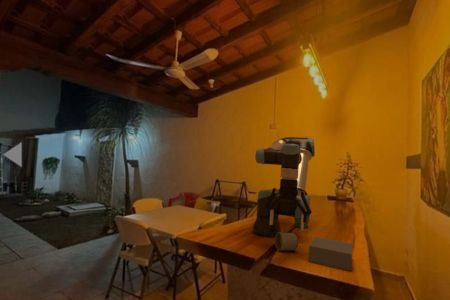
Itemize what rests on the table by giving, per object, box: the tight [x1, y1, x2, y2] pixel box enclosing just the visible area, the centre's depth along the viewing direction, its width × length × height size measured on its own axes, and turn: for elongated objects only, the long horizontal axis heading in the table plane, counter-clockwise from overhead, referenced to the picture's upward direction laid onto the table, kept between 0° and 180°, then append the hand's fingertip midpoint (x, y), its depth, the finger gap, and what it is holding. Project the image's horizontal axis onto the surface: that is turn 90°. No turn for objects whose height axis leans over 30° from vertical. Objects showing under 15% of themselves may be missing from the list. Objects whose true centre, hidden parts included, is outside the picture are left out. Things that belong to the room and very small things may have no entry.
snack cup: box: [293, 214, 311, 229], centre depth 154 cm, size 16×10×10 cm
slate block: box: [308, 236, 353, 272], centre depth 102 cm, size 15×15×6 cm
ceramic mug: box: [274, 231, 299, 252], centre depth 112 cm, size 11×8×8 cm
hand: (286, 227), depth 110 cm, fingers open, 13 cm apart
